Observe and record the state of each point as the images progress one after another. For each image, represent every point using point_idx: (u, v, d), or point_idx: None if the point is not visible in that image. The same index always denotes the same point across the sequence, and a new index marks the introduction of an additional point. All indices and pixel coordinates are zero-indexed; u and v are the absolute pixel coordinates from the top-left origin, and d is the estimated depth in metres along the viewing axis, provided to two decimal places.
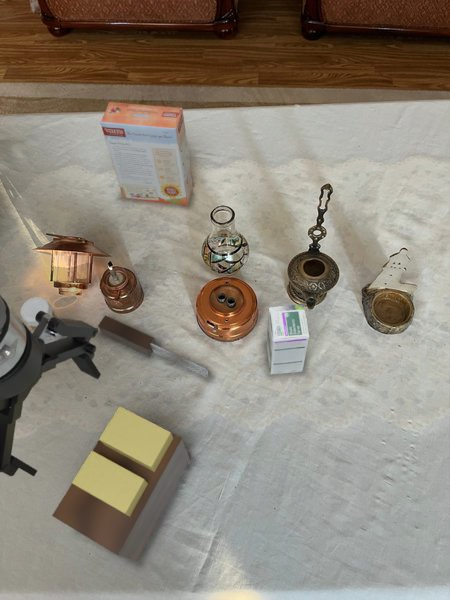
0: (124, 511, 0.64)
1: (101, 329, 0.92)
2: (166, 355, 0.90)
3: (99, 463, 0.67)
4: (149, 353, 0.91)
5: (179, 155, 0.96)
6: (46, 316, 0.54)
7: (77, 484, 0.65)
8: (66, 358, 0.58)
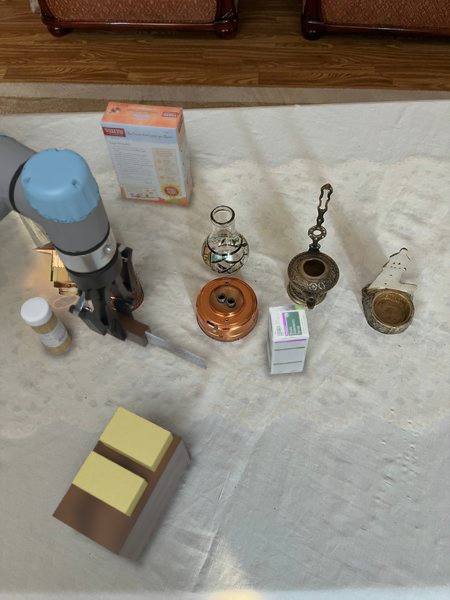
0: (124, 511, 0.64)
1: None
2: (161, 344, 0.86)
3: (99, 463, 0.67)
4: (144, 342, 0.87)
5: (179, 155, 0.96)
6: (123, 245, 0.78)
7: (77, 484, 0.65)
8: (121, 291, 0.80)
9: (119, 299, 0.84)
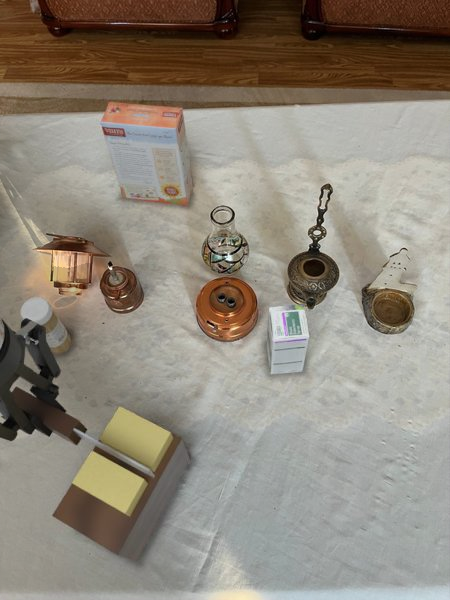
0: (124, 511, 0.64)
1: None
2: (96, 444, 0.65)
3: (99, 463, 0.67)
4: (74, 440, 0.66)
5: (179, 155, 0.96)
6: (33, 322, 0.57)
7: (77, 484, 0.65)
8: (34, 382, 0.59)
9: (37, 386, 0.64)
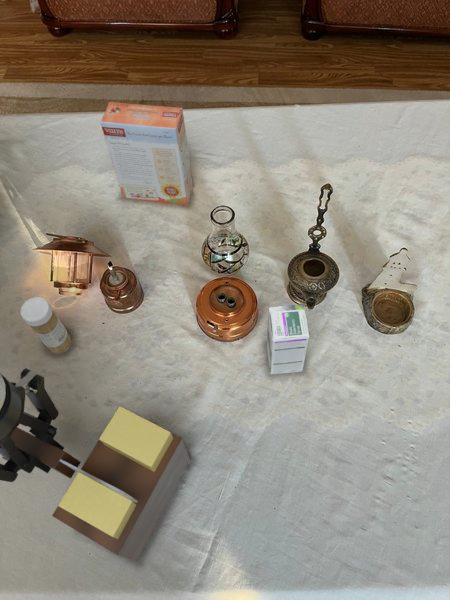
0: (112, 534, 0.62)
1: None
2: None
3: (86, 485, 0.65)
4: (64, 472, 0.68)
5: (179, 155, 0.96)
6: (32, 372, 0.61)
7: (64, 507, 0.64)
8: (33, 426, 0.63)
9: None
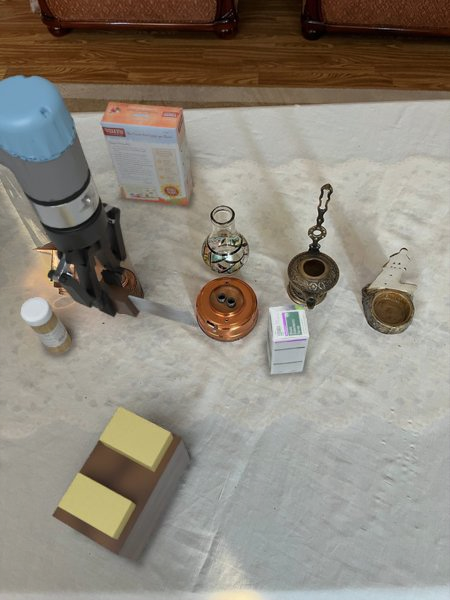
0: (111, 535, 0.62)
1: None
2: (148, 308, 0.76)
3: (85, 485, 0.65)
4: (131, 310, 0.77)
5: (179, 155, 0.96)
6: (110, 205, 0.70)
7: (63, 507, 0.64)
8: (109, 258, 0.72)
9: (107, 269, 0.76)
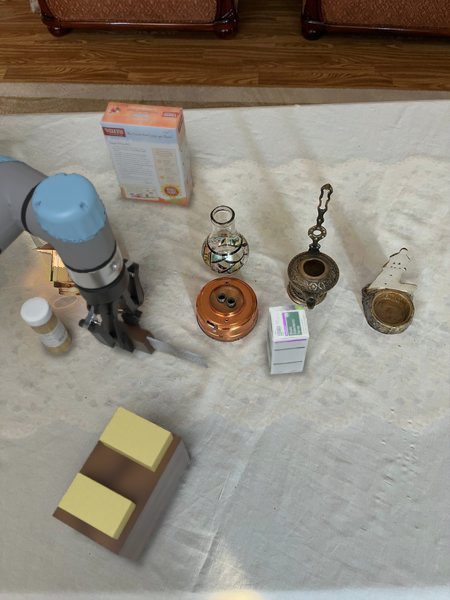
0: (111, 535, 0.62)
1: None
2: (164, 348, 0.87)
3: (85, 485, 0.65)
4: (148, 348, 0.88)
5: (179, 155, 0.96)
6: None
7: (63, 507, 0.64)
8: (129, 305, 0.84)
9: (127, 312, 0.88)
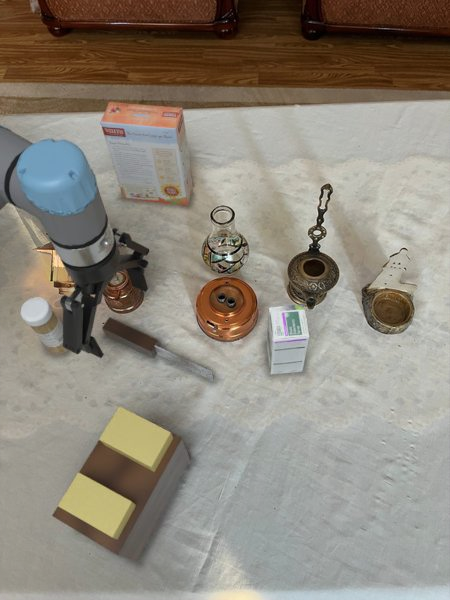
0: (111, 535, 0.62)
1: (105, 331, 0.91)
2: (170, 357, 0.90)
3: (85, 485, 0.65)
4: (153, 355, 0.90)
5: (179, 155, 0.96)
6: (119, 231, 0.75)
7: (63, 507, 0.64)
8: (129, 266, 0.80)
9: None
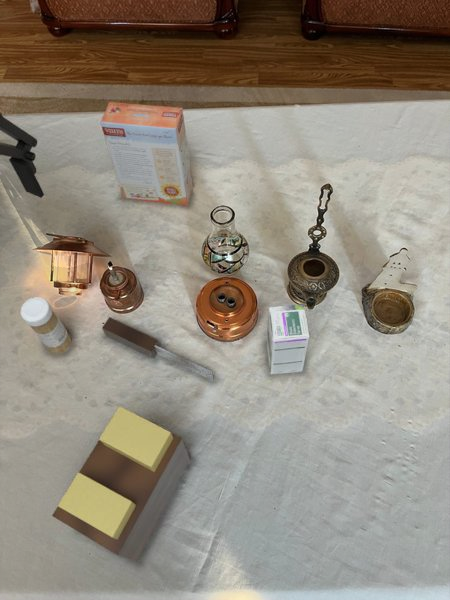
0: (111, 535, 0.62)
1: (105, 331, 0.91)
2: (170, 357, 0.90)
3: (85, 485, 0.65)
4: (153, 355, 0.90)
5: (179, 155, 0.96)
6: None
7: (63, 507, 0.64)
8: (5, 153, 0.67)
9: None
